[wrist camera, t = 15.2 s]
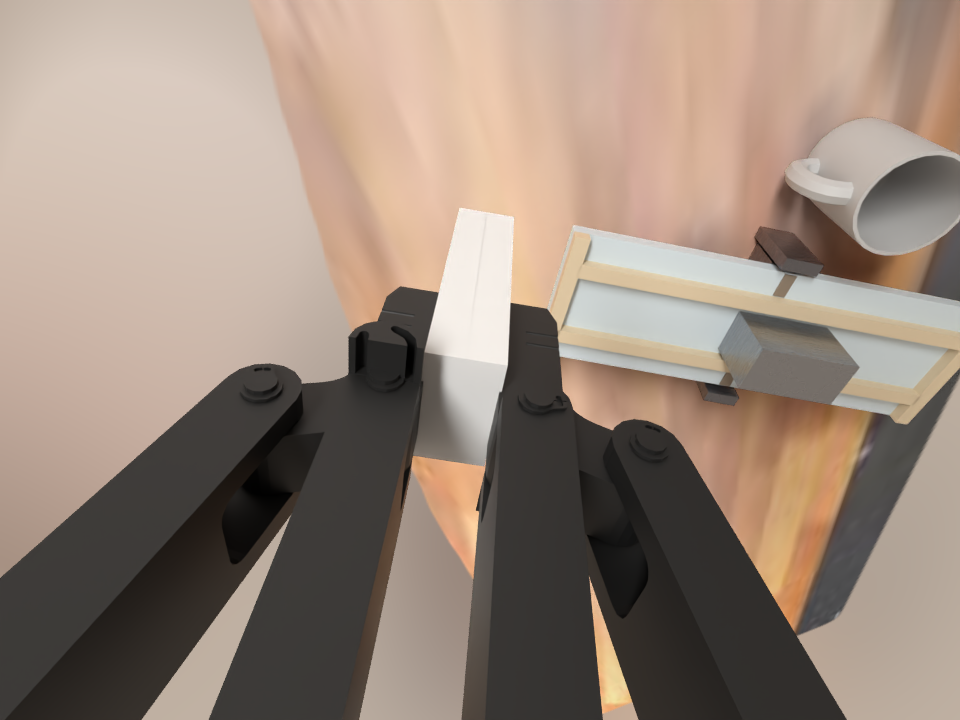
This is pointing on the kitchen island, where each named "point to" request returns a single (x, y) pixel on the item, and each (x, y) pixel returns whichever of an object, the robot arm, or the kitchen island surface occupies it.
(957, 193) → the cup
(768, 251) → the fulcrum
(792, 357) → the block
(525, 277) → the kitchen island surface
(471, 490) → the kitchen island surface
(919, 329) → the beam
